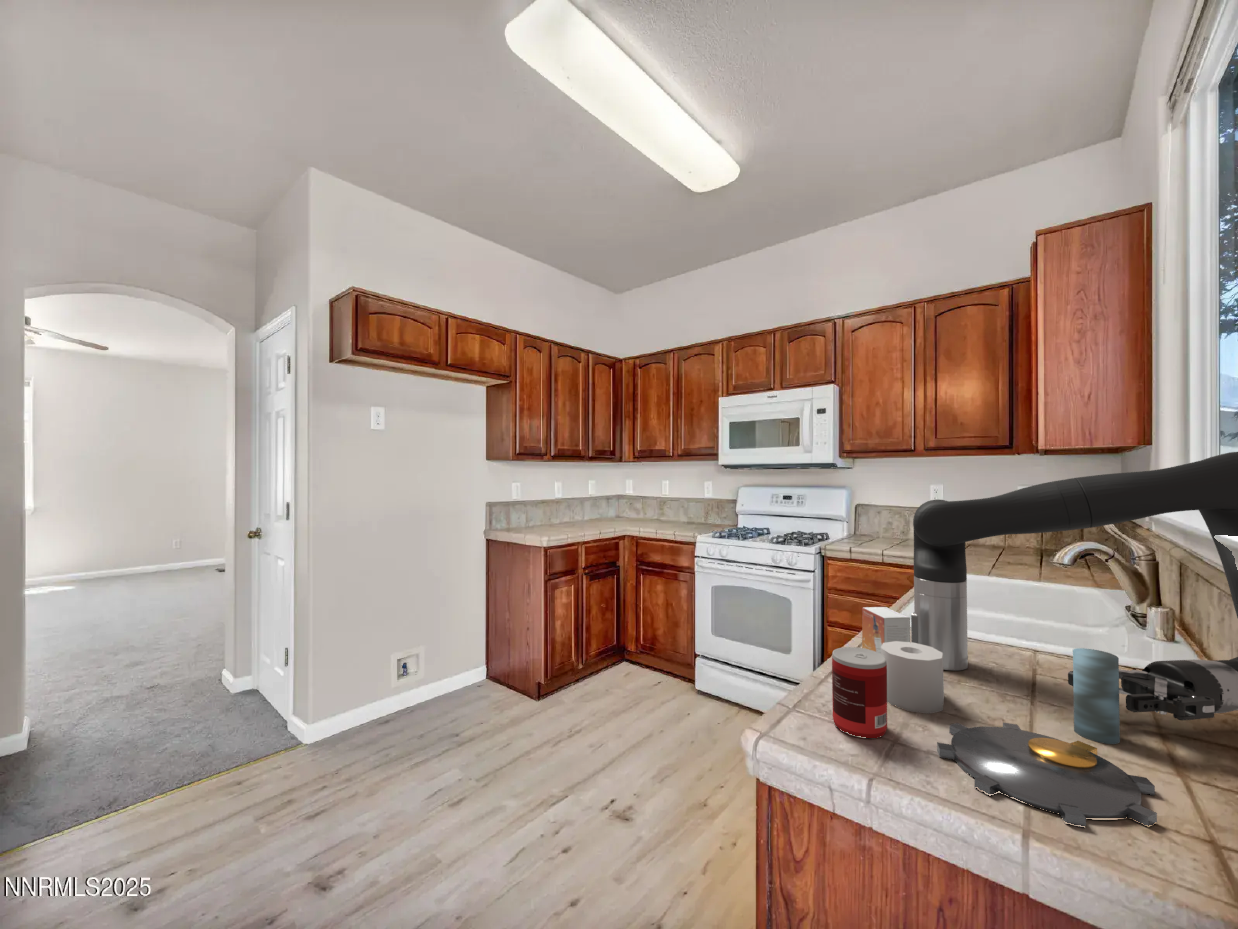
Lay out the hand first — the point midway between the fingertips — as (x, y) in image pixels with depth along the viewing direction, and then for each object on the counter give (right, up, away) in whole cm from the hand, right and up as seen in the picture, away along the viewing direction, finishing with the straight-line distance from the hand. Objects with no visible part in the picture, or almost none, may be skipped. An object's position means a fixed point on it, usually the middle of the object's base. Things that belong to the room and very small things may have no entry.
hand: (1097, 690), depth 77 cm
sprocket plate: (-17, -6, -9) cm, 20 cm away
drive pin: (0, -6, 0) cm, 7 cm away
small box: (-17, -7, +29) cm, 34 cm away
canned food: (-34, -7, +3) cm, 35 cm away
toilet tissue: (-20, -7, +12) cm, 24 cm away
